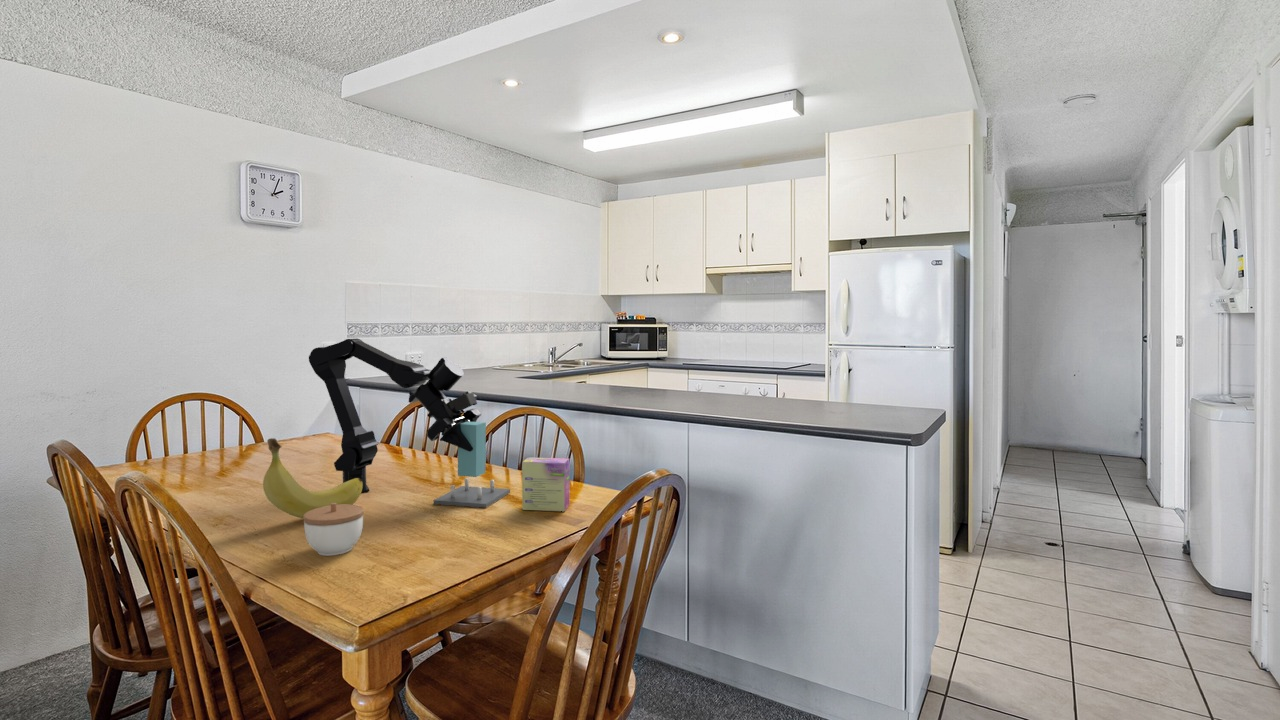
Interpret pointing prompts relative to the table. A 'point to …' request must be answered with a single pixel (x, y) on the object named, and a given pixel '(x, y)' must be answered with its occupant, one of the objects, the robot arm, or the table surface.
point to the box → (545, 484)
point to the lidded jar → (333, 528)
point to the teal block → (474, 460)
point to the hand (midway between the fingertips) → (476, 448)
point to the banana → (302, 489)
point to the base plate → (472, 495)
